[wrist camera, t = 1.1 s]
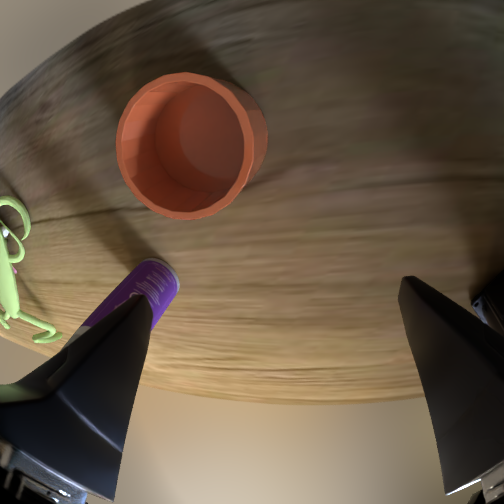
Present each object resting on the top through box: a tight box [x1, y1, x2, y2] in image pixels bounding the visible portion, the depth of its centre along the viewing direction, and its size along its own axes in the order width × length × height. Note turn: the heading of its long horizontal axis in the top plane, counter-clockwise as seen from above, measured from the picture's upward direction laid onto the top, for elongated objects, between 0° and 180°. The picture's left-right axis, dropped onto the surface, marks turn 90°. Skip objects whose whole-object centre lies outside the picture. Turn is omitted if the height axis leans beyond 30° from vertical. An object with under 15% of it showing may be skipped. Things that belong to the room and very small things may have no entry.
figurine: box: [0, 195, 62, 343], centre depth 32 cm, size 18×27×6 cm
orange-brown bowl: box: [116, 72, 268, 220], centre depth 18 cm, size 9×9×5 cm
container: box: [61, 258, 179, 350], centre depth 21 cm, size 5×5×15 cm
